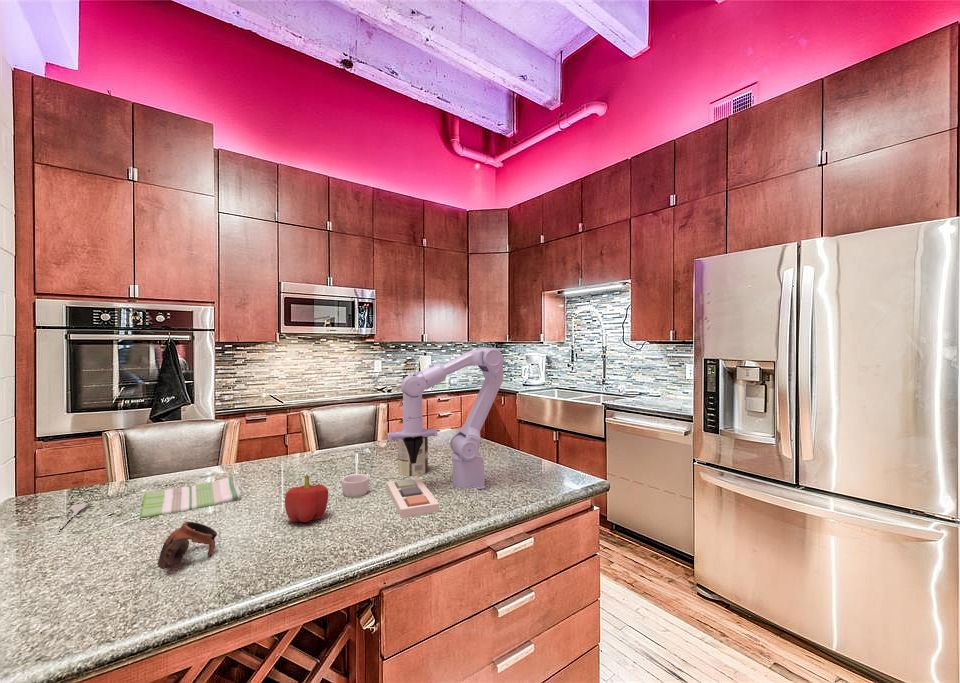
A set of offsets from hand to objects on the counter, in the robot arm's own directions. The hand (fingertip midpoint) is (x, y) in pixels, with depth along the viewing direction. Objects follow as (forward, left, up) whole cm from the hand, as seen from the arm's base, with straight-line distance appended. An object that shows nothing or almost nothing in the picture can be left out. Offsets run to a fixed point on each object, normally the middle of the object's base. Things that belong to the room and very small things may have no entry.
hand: (413, 462), depth 126 cm
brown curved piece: (+53, +18, -10) cm, 57 cm away
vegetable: (+29, +6, -10) cm, 31 cm away
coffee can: (-4, -18, -10) cm, 21 cm away
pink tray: (+2, +6, -9) cm, 11 cm away
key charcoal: (+2, +6, -9) cm, 11 cm away
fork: (+86, -17, -10) cm, 88 cm away
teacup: (+16, -6, -10) cm, 20 cm away
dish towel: (+60, -20, -10) cm, 64 cm away
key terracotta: (+2, +13, -9) cm, 16 cm away
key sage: (+2, -1, -9) cm, 9 cm away
